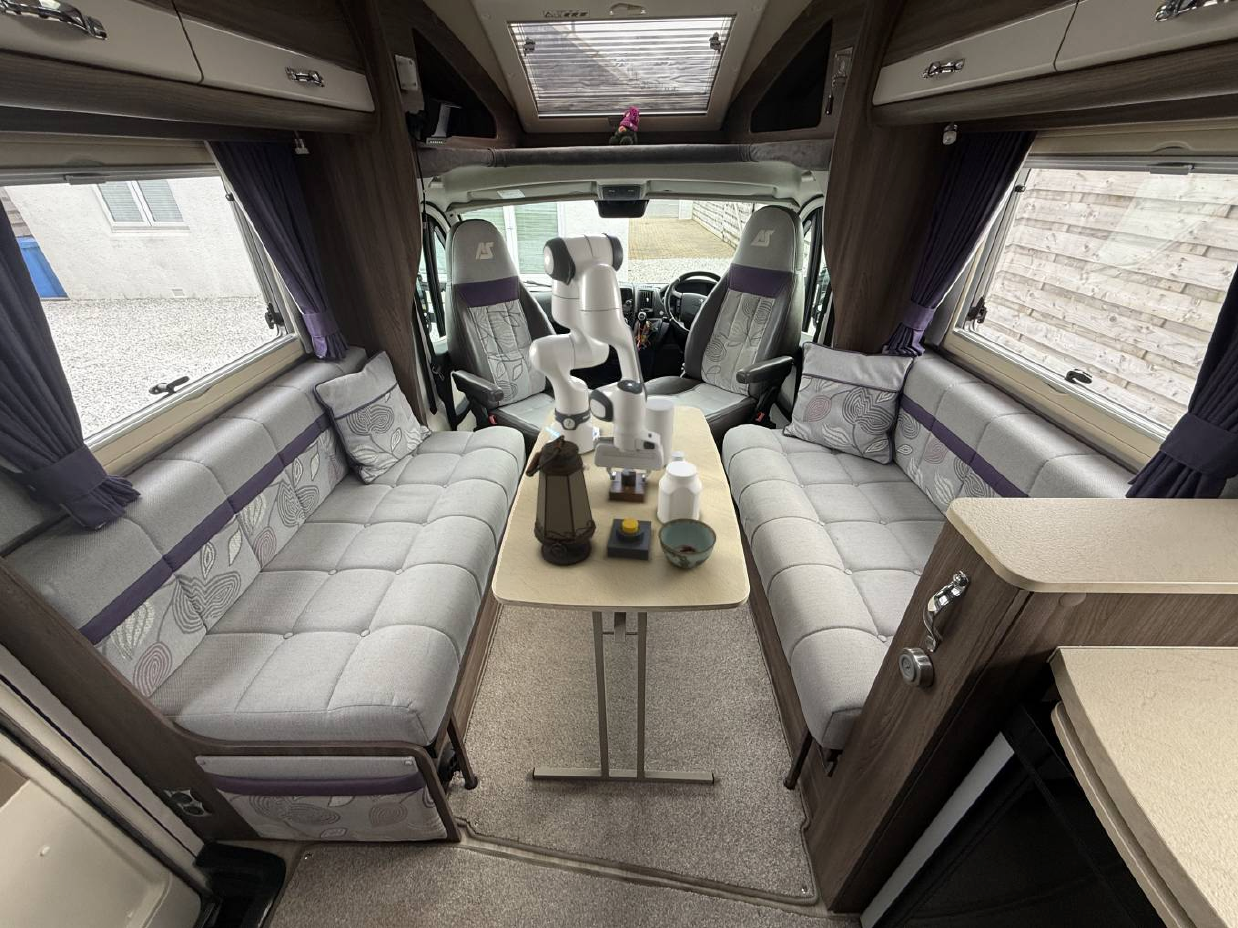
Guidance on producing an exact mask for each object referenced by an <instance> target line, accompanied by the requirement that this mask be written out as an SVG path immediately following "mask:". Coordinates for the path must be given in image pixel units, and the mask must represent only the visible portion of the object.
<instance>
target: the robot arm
mask: <svg viewBox="0 0 1238 928" xmlns="http://www.w3.org/2000/svg"><path fill="white" fill-rule="evenodd" d="M623 262H624V248H623V244H622V242H621V241H620V239H619V237H618V236H617V235H615V234H612V233H608V232H607V233H606V232H602V233H580V234H575V235H568V236H567V235H566V236H563V237H561V236H557V237H554V238H551V239H548V240H547V241H546V242H545V244H544V245H543V248H542V263H543V267H544V270H545V273H546V275H548V277H550V278H551V284H550V285H551V292H550V293H551V295H550V296H551V317H552V318H553V320H554V321H555V322H556V323H557V324H559V325H560V326H562V327H564V328H567V329H569V330H570V331H569V333H565V334H554V335H546V336H543V337H539V338H537V339H533V341H532V342H531V344H530V346H529V348H528V349H529V350H528V359H529V361H530V363H531V365H532V367H534V369H535V370H537V371H538V372H540V373H542V374H543V375H544V376H545V377H546V378H547V379H548V380H549V382H550V384H551V386H552V389H553V394H554V403H555V407H554V413H553V415H554V421H553V422H552V423H551V425H550V427H551V428H549V427H547V426H545V430H546V431H547V432H549V433H550V434H551V438H549V439H548V440H547V443H549V442H552V441H554V440H555V439H557V438H558V437H559V436H561V435H564V436H565V438H564V440H566V441H571V442H573V443H575V444H576V445H577V446H578V447H579V452H578V453H579V454H580V455H582V454H586V453H588V452H591V451H593V450H594V455H593V464H594V465H595V467H597V468H605V470H606V473H607V474H608V475H609V480H610V481H612V480H615V478H616V476H615V475H616V472H614V471H613V470H612V469H634V470H639V471H640V470H641V471H645V473H646V474H642V482H646V483H647V482H648V477H649V476H650V475H651V473H652V471H655V472H656V471H658V472H661V471H662V470H663V469H664V467H665V466H664V454H663V448H662V445H661V444H660V435H659V434H657V433H654V432H651V431H649V430H646V429H645V425H644V418H645V415H646V402H647V400H648V396H649V395H648V390H647V386H646V384H645V382H644V378H643V374H642V369H641V363H640V358H639V357H640V356H639V353H638V346H637V342H636V338H635V335H634V332H633V330H632V327H631V326H630V325H629V324H628V323H627V322H626V320H625V316H624V313H623V304H622V303H623V302H622V294H621V288H620V287H621V286H620V283H619V279H618V275H617V272H618V271H619V270H620V269H621V267H622V265H623ZM609 345H610V346H612V347H613V348H614V349H615V351H616V353H617V357H618V361H619V366H620V372H621V379H620V380H619V381H617V382H614V383H610V384H606V385H603V386H600V387H599V386H598V387H597V388H595V389H593V390H592V391H591V392H590V394H589V388H588V385H587V383H586V382H585V381H584V380H582V379H581V378H578V377H576V376H572V375H571V370H577V369H585V368H593V367H596V366H598V365H601V364H604V363H605V362H606V361H607V359H608V357H609V355H610V354H609V353H610V346H609ZM591 415H592V416H591ZM593 417H594V418H596V419H597V420H599V421H601V422H605V423H612V424H613V436H603V435H600V434H601V433H600V428H599V427H597V426H595V425H594V418H593Z"/></svg>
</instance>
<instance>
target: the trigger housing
mask: <svg viewBox="0 0 1238 928" xmlns="http://www.w3.org/2000/svg"><path fill="white" fill-rule="evenodd" d="M626 519H627V518H613V519H612V524H611V529H610V533H609V537H608V541H607V546H606V556H607V558H615V559H626V560H638V561H649V553H650V543H651V536H652V535H651V534H652V521H651V520H641V519H638V520H637V519H635V520H636V521H637V522H638V531H637V532H636V533H625V532H624V531H623V530H622V522H623V521H624V520H626Z"/></svg>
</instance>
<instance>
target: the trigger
mask: <svg viewBox="0 0 1238 928" xmlns="http://www.w3.org/2000/svg"><path fill="white" fill-rule="evenodd" d="M625 519H626V520H624V521H623V522H622V530H623V531H624V532H625V533H636V532H637V531H638V522H637V521H636V520H637V519H634V518H625Z"/></svg>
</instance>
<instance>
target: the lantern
mask: <svg viewBox="0 0 1238 928" xmlns="http://www.w3.org/2000/svg"><path fill="white" fill-rule="evenodd" d="M564 438H565V436H564V435H561V436H559V437H558V438H557V439H555V440H554V441H552V442H549V443H548V442H547V443H545V444H544V445H543V446H542V447H541V448H540V451H537V452H535V453H534V455H533V457H532V459H531V461H530V463H529V464H528V467H527V468H526V470H525V472H524V474H525V476H527V477H528V478H532V477H534V476H535V475H536V473H538V482H537V483H538V485H537V499H536V510H535V511H536V512H535V522H534V529H533V534H534V537H535V538H536V540H537V541H538V542H539V543H540V544H541V545H540V551H539V552H540V555H541V557H542V559H543V560H544V561H545V562H546V563H548V564H550V565H553V566H557V567H570V566H575V565H578V564H580V563H582V562H584V561H585V560H587V559H588V557H590V556H591V553H592V549H593V547H592V544H591V541H590V540H591V539H592V538H593V537H594V535H595V533H596V529H597V525H596V522H595V520H594V518H593V515H592V509H591V504H590V503H591V502H590V498H589V493H588V488H587V484H586V478H585V472H583V467H582V466H583V462H584V460H583V457H582V455H581V454H579V453H578V452H579V447H578V446H577V445H576V444H575V443H573V442H571V441H566V440H564Z"/></svg>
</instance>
